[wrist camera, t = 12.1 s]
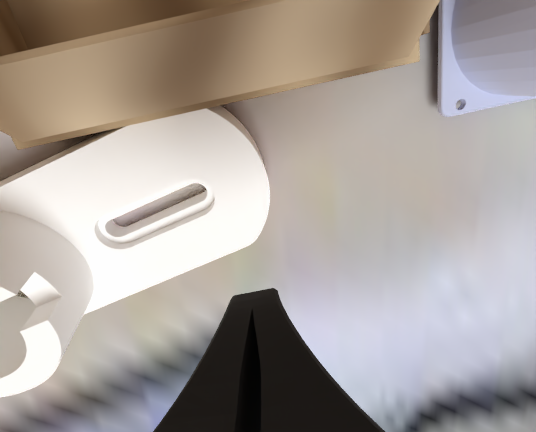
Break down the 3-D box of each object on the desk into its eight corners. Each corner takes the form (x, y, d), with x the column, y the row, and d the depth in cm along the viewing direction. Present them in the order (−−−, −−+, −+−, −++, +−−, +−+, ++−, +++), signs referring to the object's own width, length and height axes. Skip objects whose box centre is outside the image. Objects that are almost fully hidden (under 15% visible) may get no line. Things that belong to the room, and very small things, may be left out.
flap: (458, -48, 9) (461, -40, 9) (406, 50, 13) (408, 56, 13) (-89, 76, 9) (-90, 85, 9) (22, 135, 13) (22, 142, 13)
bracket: (26, 318, 22) (-42, 417, 16) (-93, 226, 18) (-242, 318, 12) (285, 208, 20) (309, 278, 14) (224, 72, 16) (224, 96, 10)
